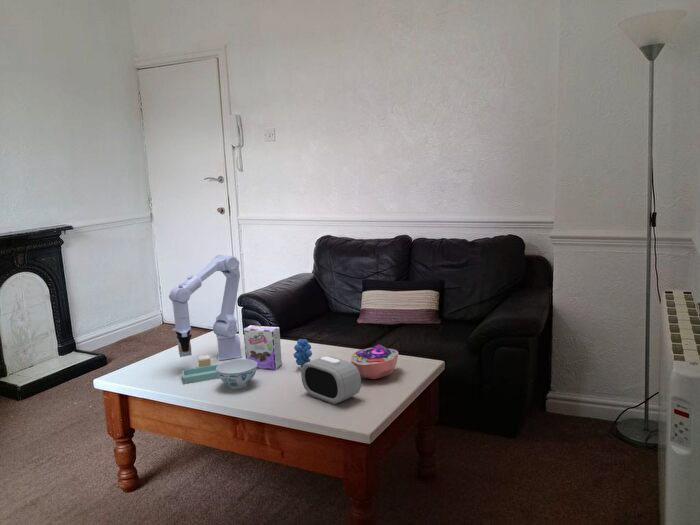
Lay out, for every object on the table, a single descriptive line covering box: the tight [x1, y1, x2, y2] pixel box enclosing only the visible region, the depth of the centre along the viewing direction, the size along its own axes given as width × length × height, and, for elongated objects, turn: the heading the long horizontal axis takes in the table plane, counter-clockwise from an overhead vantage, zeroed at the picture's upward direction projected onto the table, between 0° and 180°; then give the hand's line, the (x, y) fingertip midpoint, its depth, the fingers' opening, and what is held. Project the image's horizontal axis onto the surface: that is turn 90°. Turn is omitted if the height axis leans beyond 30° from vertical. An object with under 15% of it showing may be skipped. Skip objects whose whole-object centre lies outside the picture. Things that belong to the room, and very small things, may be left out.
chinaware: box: [216, 358, 258, 390], centre depth 213 cm, size 15×15×8 cm
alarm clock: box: [300, 355, 362, 405], centre depth 198 cm, size 21×10×13 cm, turn 45°
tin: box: [177, 339, 193, 358], centre depth 232 cm, size 5×5×6 cm
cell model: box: [350, 344, 399, 380], centre depth 215 cm, size 17×20×11 cm
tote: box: [181, 363, 220, 385], centre depth 225 cm, size 15×9×2 cm, turn 110°
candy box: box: [242, 324, 283, 371], centre depth 232 cm, size 14×6×16 cm, turn 68°
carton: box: [197, 354, 212, 368], centre depth 235 cm, size 5×5×5 cm
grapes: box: [293, 338, 313, 368], centre depth 229 cm, size 12×7×12 cm, turn 155°
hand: (185, 349), depth 232 cm, fingers closed on tin, 5 cm apart
